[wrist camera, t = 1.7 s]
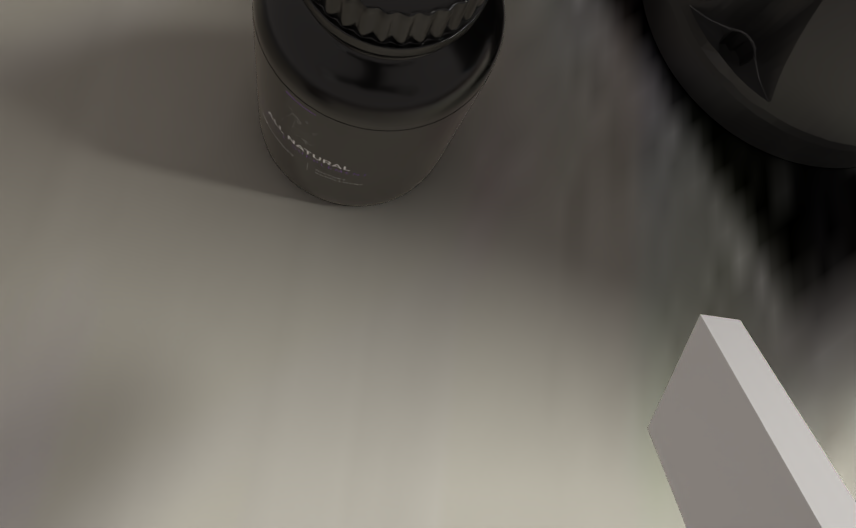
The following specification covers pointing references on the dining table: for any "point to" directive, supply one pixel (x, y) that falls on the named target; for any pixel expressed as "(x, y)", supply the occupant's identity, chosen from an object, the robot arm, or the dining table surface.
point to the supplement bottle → (368, 88)
